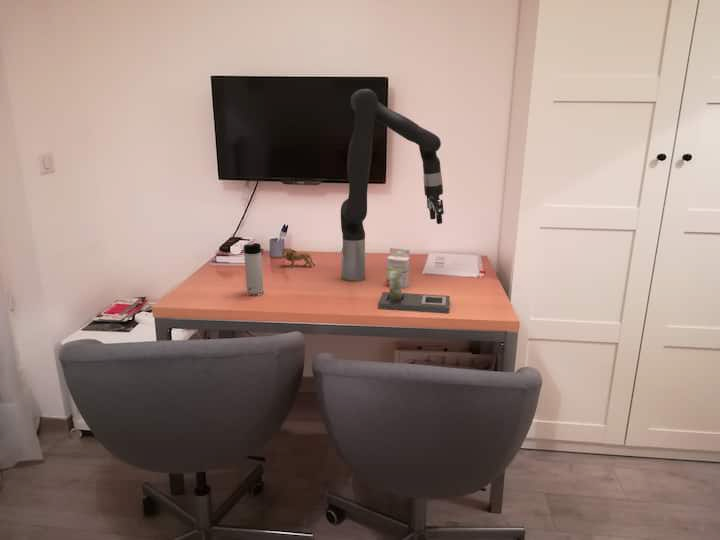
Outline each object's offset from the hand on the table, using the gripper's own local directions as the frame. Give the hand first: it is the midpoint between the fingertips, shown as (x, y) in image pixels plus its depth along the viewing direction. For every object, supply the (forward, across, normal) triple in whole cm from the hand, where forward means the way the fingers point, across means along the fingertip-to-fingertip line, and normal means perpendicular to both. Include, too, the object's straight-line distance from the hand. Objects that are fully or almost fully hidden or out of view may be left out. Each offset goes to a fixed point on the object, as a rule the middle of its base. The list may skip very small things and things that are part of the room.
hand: (436, 221), depth 224 cm
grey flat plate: (+19, +36, -22) cm, 46 cm away
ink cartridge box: (+20, +14, -23) cm, 33 cm away
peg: (+18, +34, -29) cm, 48 cm away
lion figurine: (+15, -18, -60) cm, 65 cm away
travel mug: (+12, +13, -79) cm, 81 cm away
